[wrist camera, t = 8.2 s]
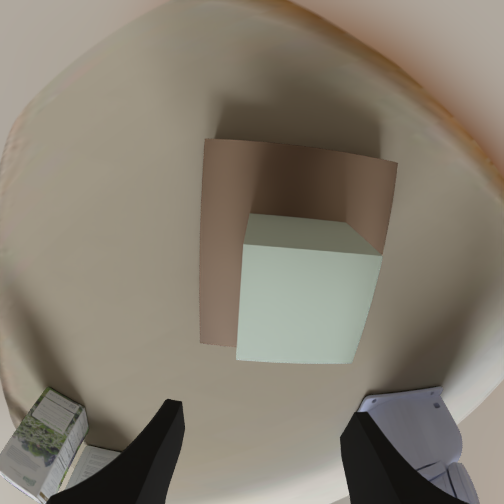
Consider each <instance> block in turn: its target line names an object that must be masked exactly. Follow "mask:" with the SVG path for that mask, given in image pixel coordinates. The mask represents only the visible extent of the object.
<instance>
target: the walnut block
mask: <svg viewBox="0 0 504 504" xmlns="http://www.w3.org/2000/svg"><path fill="white" fill-rule="evenodd" d="M397 166H398V163H396V162H392V161H387V160H382V159H378V158H373V157H368V156H363V155H357V154H352V153H346V152H340V151H334V150H327V149H321V148H313V147H306V146H298V145H289V144H280V143H270V142H258V141H245V140H228V139H205V145H204V160H203V177H202V197H201V223H200V276H199V303H200V343H203V344H211V345H220V346H229V347H237V335H238V319H239V303H240V287H241V271H242V256H243V243H244V238H245V233H246V229H247V224H248V219H249V214H250V213H252V214H264V215H276V216H287V217H298V218H308V219H318V220H327V221H337V222H346V223H347V224H348V225H349V226H351V227H352V228H353V229H354V230H355V231H356V232H357V233H358V234H359V235H361V236H362V237H363V238H364V239H365V240H366V241H367V242H368V243H369V244H370V245H372V246H373V247H374V248H375V249H376V250H377V251H378V252H379V253H380V254H381V255H382V254H383V249H384V245H385V240H386V235H387V230H388V225H389V219H390V214H391V208H392V202H393V195H394V189H395V182H396V174H397Z"/></svg>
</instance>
